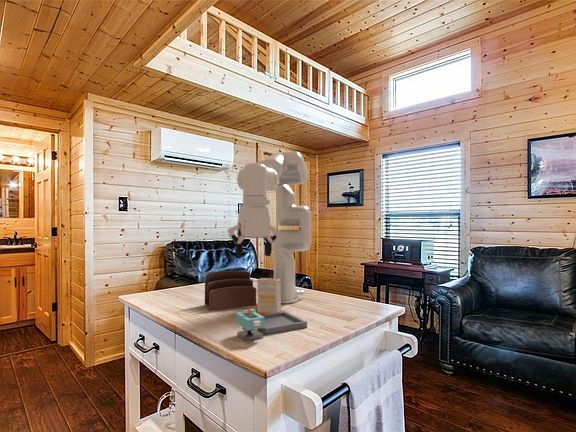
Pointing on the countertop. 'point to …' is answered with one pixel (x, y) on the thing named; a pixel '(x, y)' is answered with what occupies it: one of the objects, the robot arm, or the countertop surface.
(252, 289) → the letter holder
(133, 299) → the countertop surface
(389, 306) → the countertop surface
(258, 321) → the teal rectangular frame
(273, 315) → the tray
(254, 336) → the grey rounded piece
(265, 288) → the supplement box
